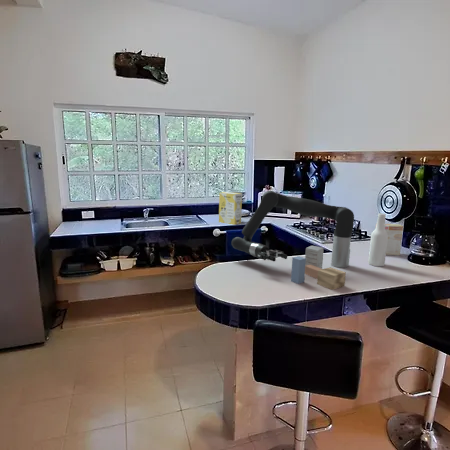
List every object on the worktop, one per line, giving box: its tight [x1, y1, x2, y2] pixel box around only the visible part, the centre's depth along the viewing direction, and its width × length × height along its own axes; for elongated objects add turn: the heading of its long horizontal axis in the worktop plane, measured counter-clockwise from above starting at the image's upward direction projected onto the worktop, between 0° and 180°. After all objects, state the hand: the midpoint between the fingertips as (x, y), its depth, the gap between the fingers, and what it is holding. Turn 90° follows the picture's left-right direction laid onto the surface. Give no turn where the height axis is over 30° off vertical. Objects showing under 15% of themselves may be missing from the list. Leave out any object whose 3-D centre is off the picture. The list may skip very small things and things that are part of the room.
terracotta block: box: [305, 265, 321, 280], centre depth 172 cm, size 10×4×4 cm, turn 31°
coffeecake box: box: [374, 223, 404, 257], centre depth 217 cm, size 15×7×20 cm, turn 84°
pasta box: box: [218, 191, 243, 226], centre depth 310 cm, size 18×10×28 cm, turn 53°
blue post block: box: [290, 255, 306, 285], centre depth 162 cm, size 4×4×12 cm
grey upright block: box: [304, 245, 324, 269], centre depth 180 cm, size 7×7×13 cm
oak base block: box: [316, 267, 347, 291], centre depth 159 cm, size 9×9×7 cm
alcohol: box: [367, 212, 388, 268], centre depth 192 cm, size 9×9×30 cm
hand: (281, 258), depth 170 cm, fingers open, 8 cm apart
